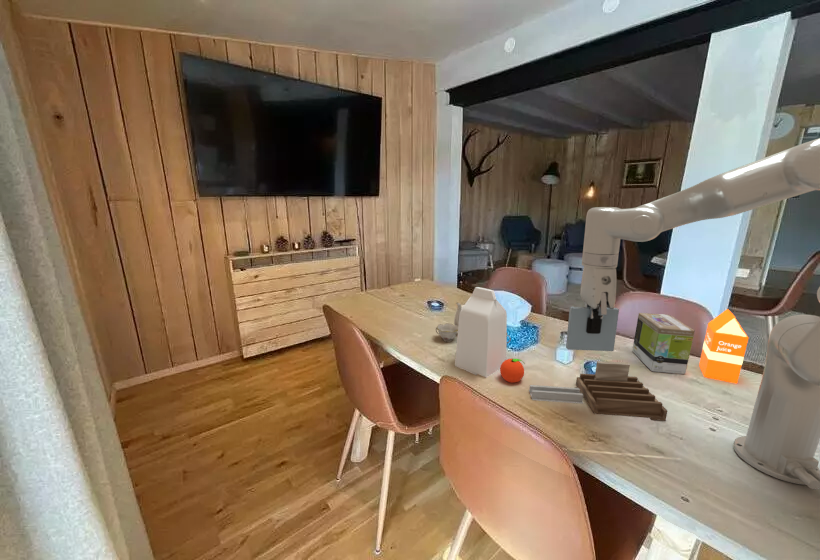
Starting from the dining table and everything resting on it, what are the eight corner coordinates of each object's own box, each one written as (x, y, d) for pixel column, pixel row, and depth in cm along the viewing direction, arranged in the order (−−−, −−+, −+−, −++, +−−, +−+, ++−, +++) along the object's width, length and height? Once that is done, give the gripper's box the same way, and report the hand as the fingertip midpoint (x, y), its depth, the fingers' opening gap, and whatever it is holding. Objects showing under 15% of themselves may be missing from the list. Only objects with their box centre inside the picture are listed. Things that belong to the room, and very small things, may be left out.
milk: (454, 365, 113) (457, 288, 106) (475, 354, 120) (478, 282, 114) (486, 379, 104) (490, 296, 98) (506, 366, 112) (511, 289, 106)
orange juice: (729, 371, 109) (744, 310, 104) (737, 384, 101) (754, 319, 96) (698, 365, 112) (710, 306, 108) (703, 377, 105) (717, 314, 100)
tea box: (687, 375, 106) (696, 330, 103) (650, 372, 108) (658, 327, 105) (662, 353, 121) (670, 313, 117) (631, 351, 123) (637, 311, 119)
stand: (583, 405, 91) (584, 396, 91) (532, 401, 93) (532, 393, 92) (576, 394, 96) (578, 386, 95) (528, 391, 98) (529, 383, 97)
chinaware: (432, 348, 129) (432, 307, 123) (438, 327, 144) (438, 290, 139) (510, 355, 123) (514, 313, 118) (508, 333, 139) (511, 294, 133)
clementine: (516, 372, 108) (518, 351, 106) (531, 383, 102) (533, 361, 100) (494, 377, 105) (495, 356, 104) (508, 389, 99) (510, 366, 97)
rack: (665, 420, 85) (671, 388, 83) (593, 415, 87) (598, 384, 85) (637, 389, 98) (642, 361, 96) (575, 385, 101) (579, 358, 98)
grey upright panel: (613, 351, 87) (619, 309, 84) (567, 349, 88) (571, 308, 86) (611, 348, 88) (616, 307, 86) (565, 347, 90) (569, 306, 87)
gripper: (632, 266, 75) (621, 345, 79) (603, 254, 90) (595, 321, 94) (595, 266, 76) (587, 343, 80) (572, 254, 91) (566, 320, 95)
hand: (591, 331), depth 87 cm, fingers closed on grey upright panel, 1 cm apart
